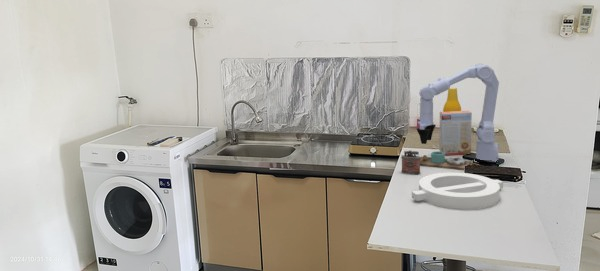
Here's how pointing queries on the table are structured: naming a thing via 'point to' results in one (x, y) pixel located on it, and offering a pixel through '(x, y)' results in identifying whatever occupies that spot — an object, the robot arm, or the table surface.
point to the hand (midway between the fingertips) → (426, 141)
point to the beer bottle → (452, 101)
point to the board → (449, 163)
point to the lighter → (410, 163)
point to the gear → (437, 157)
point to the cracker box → (455, 132)
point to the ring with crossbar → (458, 190)
